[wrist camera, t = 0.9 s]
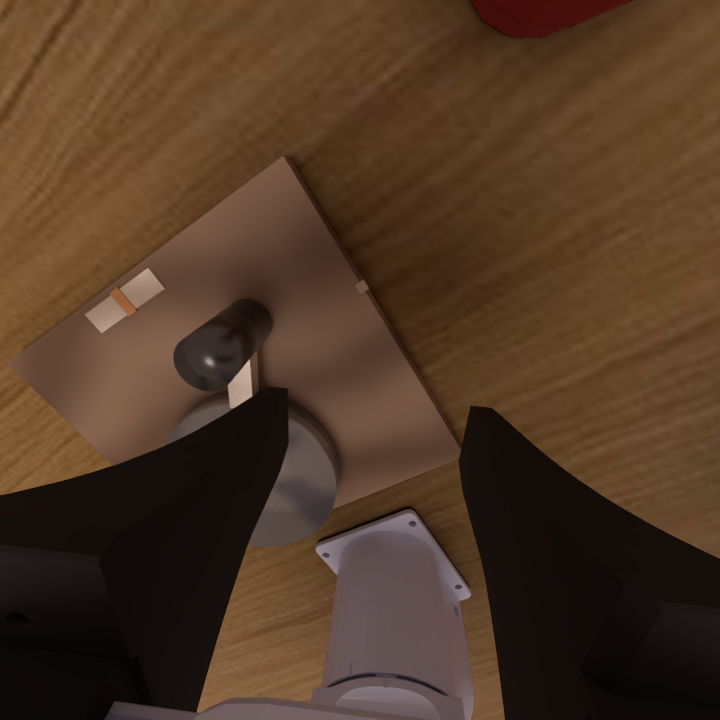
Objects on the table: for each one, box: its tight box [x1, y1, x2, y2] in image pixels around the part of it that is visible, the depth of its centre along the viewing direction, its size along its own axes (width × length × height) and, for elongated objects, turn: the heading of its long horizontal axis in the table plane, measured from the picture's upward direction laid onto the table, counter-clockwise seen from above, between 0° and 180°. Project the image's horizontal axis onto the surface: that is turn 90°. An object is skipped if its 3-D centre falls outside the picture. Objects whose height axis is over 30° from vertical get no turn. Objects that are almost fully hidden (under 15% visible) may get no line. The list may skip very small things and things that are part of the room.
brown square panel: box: [7, 156, 462, 510], centre depth 22 cm, size 18×20×1 cm
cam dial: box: [164, 299, 340, 546], centre depth 19 cm, size 15×10×5 cm, turn 176°
